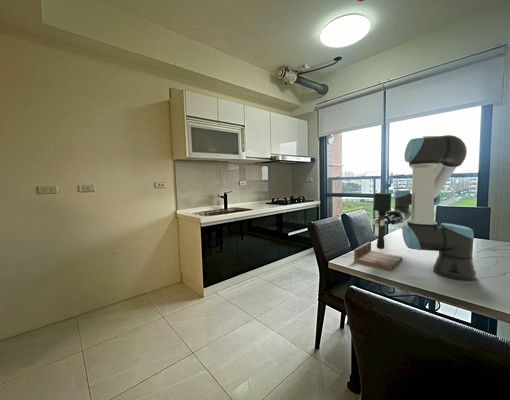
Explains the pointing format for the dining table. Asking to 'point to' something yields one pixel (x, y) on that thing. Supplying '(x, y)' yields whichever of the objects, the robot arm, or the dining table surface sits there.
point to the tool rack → (375, 257)
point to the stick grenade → (381, 213)
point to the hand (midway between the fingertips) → (377, 222)
